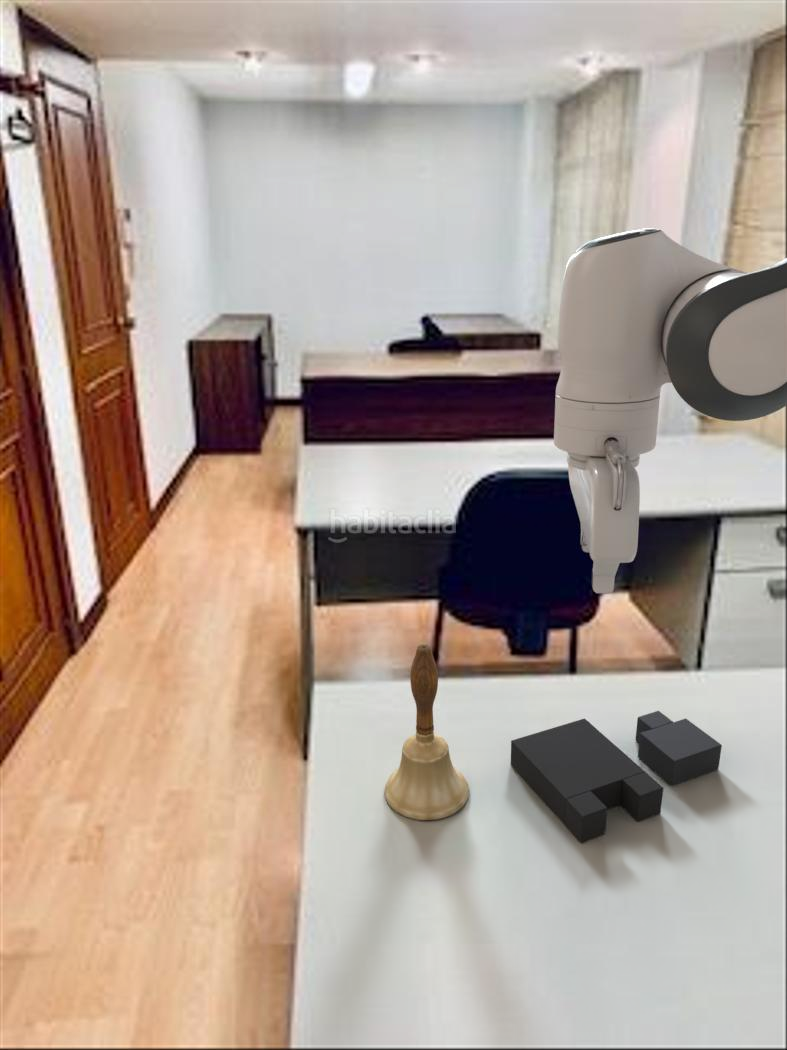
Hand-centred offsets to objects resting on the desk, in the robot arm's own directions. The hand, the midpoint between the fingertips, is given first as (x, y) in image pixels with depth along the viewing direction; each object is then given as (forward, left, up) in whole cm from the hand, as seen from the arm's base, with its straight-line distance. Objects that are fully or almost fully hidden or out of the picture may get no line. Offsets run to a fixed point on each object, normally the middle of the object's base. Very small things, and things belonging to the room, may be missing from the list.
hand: (595, 568), depth 72 cm
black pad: (+3, +4, -21) cm, 22 cm away
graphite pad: (-8, +4, -21) cm, 23 cm away
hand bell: (+17, -2, -21) cm, 27 cm away
